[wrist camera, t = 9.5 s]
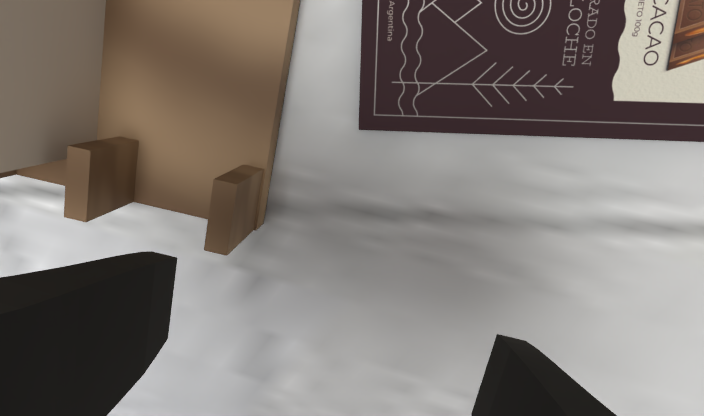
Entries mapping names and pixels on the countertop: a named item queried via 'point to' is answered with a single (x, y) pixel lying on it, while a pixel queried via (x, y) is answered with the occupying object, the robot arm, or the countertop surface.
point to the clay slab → (48, 78)
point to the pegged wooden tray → (184, 114)
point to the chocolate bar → (534, 68)
